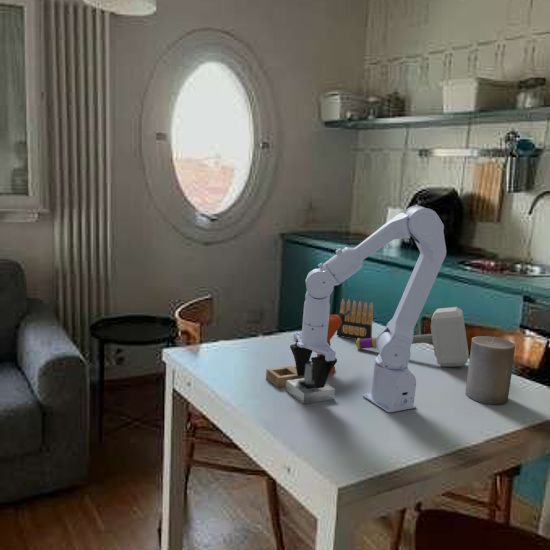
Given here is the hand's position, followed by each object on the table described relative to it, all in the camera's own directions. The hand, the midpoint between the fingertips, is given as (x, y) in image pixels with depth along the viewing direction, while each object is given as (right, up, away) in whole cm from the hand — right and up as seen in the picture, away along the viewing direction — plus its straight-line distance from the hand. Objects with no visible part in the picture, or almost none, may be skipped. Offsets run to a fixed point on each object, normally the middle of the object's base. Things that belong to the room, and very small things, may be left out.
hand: (310, 381), depth 128 cm
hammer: (+30, 0, +32) cm, 44 cm away
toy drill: (+6, 0, +20) cm, 21 cm away
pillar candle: (+42, -5, +7) cm, 43 cm away
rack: (-3, -1, +9) cm, 10 cm away
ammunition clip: (+16, +4, +48) cm, 50 cm away
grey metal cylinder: (0, -3, +1) cm, 3 cm away
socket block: (0, -3, +1) cm, 3 cm away
